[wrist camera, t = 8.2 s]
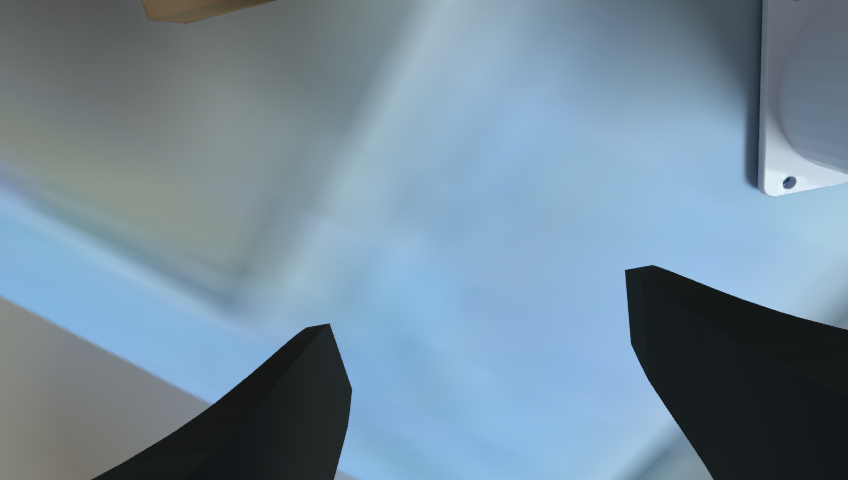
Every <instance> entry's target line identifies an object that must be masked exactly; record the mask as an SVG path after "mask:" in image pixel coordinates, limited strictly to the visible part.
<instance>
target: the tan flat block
mask: <svg viewBox="0 0 848 480" xmlns="http://www.w3.org/2000/svg"><path fill="white" fill-rule="evenodd" d="M141 1H142V4H143V6H144V9H145V12H146V14H147V17H148V19H149V20H156V21H166V22H176V23H190V22H194V21H198V20H202V19H206V18H209V17H213V16H217V15H221V14H225V13H229V12H233V11H237V10H241V9H245V8H248V7H252V6H256V5H260V4H264V3H268V2H272V1H276V0H141Z"/></svg>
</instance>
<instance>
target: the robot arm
mask: <svg viewBox="0 0 848 480" xmlns="http://www.w3.org/2000/svg"><path fill="white" fill-rule="evenodd" d="M787 177H790V180H789V183H788V184H787V185H785V186H783V185H782V184H783V181H784V180H785V179H786V178H787ZM844 183H848V0H763V12H762V50H761V87H760V125H759V163H758V189H759V191H760V192H761V193H763V194H765V195H767V196H770V197H776V196H781V195H786V194H791V193H797V192H802V191H807V190H812V189H818V188H823V187H828V186H833V185H839V184H844ZM625 276H626V288H627V300H628V313H629V325H630V337H631V345H632V347H633V349H634V351H635V353H636V356H637V358H638V360H639V362H640V364H641V366H642V368H643V370H644V372H645V374H646V376H647V378H648V380H649V382H650V383H651V385H652V386H653V388H654V389H655V391H656V392H657V394H658V395H659V397H660V398H661V400H662V402H663V403H664V405H665V406H666V408H667V409H668V411H669V412H670V414H671V415H672V417H673V418H674V420H675V421H676V422H677V424H678V425H679V427H680V428H681V430H682V431H683V433H684V434H685V436H686V437H687V439H688V440H689V442H690V443H691V445H692V446H693V448H694V449H695V451H696V452H697V454H698V455H699V457H700V458H701V460H702V461H703V463H704V464H705V466H706V468H707V469H708V471H709V473H710V474H711V476H712V478H713V479H714V480H848V330H846V329H842V328H838V327H834V326H830V325H826V324H822V323H818V322H814V321H811V320H807V319H803V318H799V317H796V316H792V315H789V314H785V313H782V312H779V311H776V310H773V309H770V308H767V307H764V306H761V305H758V304H755V303H752V302H749V301H746V300H743V299H740V298H738V297H735V296H732V295H729V294H727V293H724V292H721V291H719V290H716V289H714V288H711V287H709V286H706V285H704V284H701V283H699V282H696V281H694V280H691V279H689V278H686V277H684V276H681V275H679V274H676V273H674V272H671V271H668V270H666V269H663V268H660V267H657V266H654V265H650V266H645V267H639V268H634V269H628V270H625ZM351 395H352V388H351V385H350V382H349V379H348V376H347V373H346V370H345V367H344V364H343V361H342V359H341V356H340V353H339V350H338V347H337V344H336V341H335V338H334V335H333V332H332V329H331V326H330V323H329V324H323V325H318V326H312V327H307V328H305V329H304V330H302V331H301V332H299V333H298V334H297V335H295V336H294V337H293V338H292V339H291V340H289V341H288V342H287V343H286V344H285V345H284V346H282V347H281V348H280V349H279V350H278V351H277V352H276V353H274V354H273V355H272V356H271V357H270V358H269V359H268V360H266V361H265V362H264V363H263V364H262V365H261V366H260V367H258V368H257V369H256V370H255V371H254V372H253V373H251V374H250V375H249V376H248V377H247V378H245V379H244V380H243V381H242V382H241V383H239V384H238V385H237V386H236V387H234V388H233V389H232V390H231V391H229V392H228V393H227V394H226V395H224V396H223V397H222V398H221V399H220V400H218V401H217V402H216V403H214V404H213V405H212V406H210V407H209V408H208V409H206V410H205V411H204V412H202V413H201V414H200V415H198V416H197V417H195V418H194V419H192V420H191V421H189V422H188V423H186V424H185V425H184V426H182V427H181V428H179V429H178V430H176V431H175V432H173V433H172V434H170V435H169V436H167V437H165V438H163V439H162V440H160V441H159V442H157V443H155V444H154V445H152V446H150V447H149V448H147V449H145V450H144V451H142V452H140V453H139V454H137V455H135V456H134V457H132V458H130V459H129V460H127V461H125V462H124V463H122V464H120V465H118V466H116V467H114V468H112V469H111V470H109V471H107V472H105V473H103V474H101V475H99V476H97V477H95V478H94V479H92V480H334V477H335V473H336V469H337V466H338V462H339V458H340V455H341V451H342V447H343V443H344V439H345V435H346V431H347V427H348V421H349V413H350V404H351Z"/></svg>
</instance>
